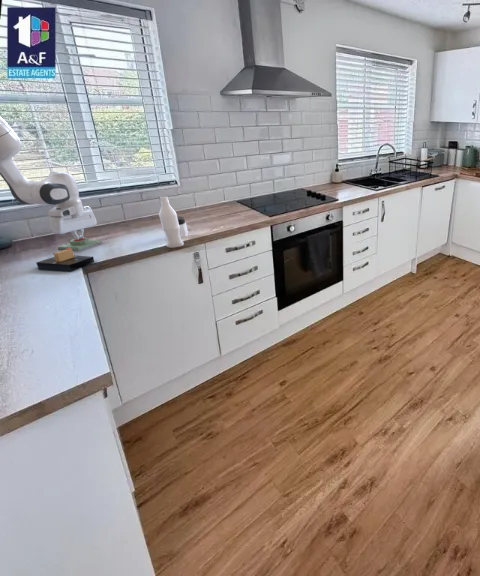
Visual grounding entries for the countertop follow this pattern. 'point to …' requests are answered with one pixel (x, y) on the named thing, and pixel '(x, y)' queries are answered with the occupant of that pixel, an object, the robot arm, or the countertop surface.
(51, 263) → the panel
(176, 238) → the water bottle
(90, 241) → the button block
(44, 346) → the countertop surface
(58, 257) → the handle
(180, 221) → the jar
